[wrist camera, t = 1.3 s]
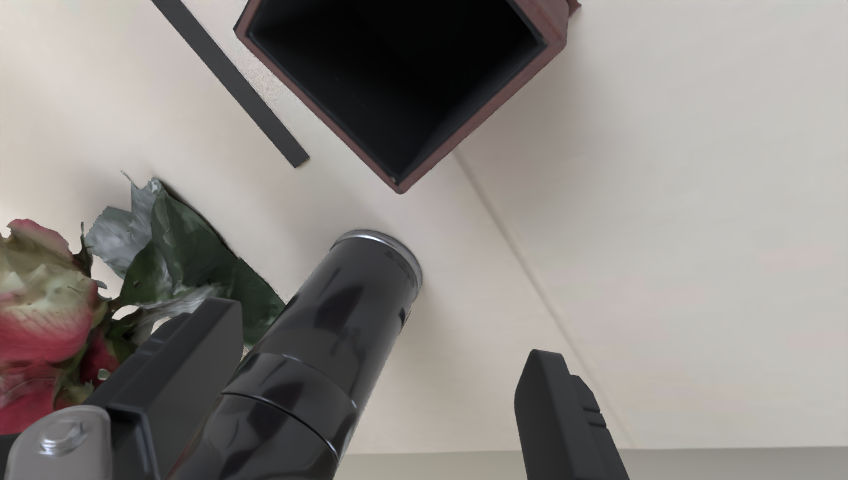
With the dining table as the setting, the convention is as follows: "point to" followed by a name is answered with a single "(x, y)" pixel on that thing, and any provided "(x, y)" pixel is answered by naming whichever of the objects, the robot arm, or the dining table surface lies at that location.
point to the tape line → (231, 79)
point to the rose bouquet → (107, 299)
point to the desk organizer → (404, 68)
